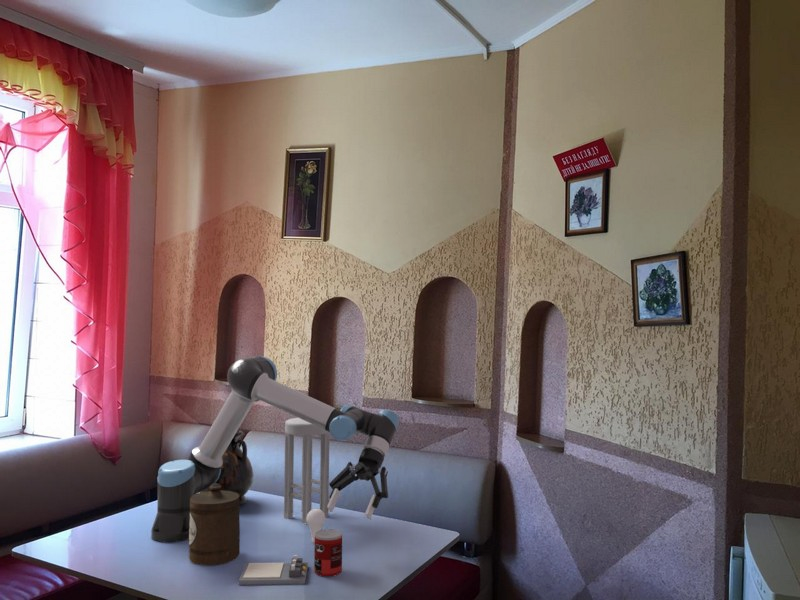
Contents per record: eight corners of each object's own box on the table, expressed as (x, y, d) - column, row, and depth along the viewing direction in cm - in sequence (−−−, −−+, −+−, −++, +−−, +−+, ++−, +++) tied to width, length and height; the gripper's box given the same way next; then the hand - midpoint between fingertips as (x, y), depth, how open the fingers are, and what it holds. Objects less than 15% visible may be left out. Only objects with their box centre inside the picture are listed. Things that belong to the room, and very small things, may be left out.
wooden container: (198, 547, 207) (199, 477, 208) (245, 548, 207) (246, 478, 207) (181, 565, 193) (182, 490, 193) (231, 566, 192) (232, 491, 192)
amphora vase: (263, 500, 258) (264, 428, 259) (231, 516, 238) (232, 438, 239) (218, 494, 266) (219, 424, 266) (182, 509, 246) (184, 434, 246)
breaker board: (238, 584, 179) (238, 569, 180) (246, 567, 191) (246, 552, 192) (304, 583, 181) (305, 568, 181) (308, 566, 193) (308, 552, 193)
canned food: (314, 566, 193) (315, 529, 193) (342, 566, 193) (342, 528, 193) (313, 577, 185) (313, 538, 185) (341, 576, 186) (342, 537, 186)
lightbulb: (321, 547, 208) (321, 512, 208) (303, 545, 209) (303, 511, 209) (327, 540, 214) (327, 507, 214) (309, 539, 215) (310, 505, 215)
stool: (305, 507, 249) (307, 415, 250) (336, 515, 240) (337, 419, 240) (275, 518, 237) (277, 420, 237) (306, 526, 227) (308, 425, 228)
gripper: (411, 464, 208) (388, 525, 194) (345, 455, 220) (319, 512, 206) (404, 451, 203) (379, 512, 190) (336, 442, 215) (309, 500, 201)
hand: (348, 513), depth 198 cm, fingers open, 13 cm apart
